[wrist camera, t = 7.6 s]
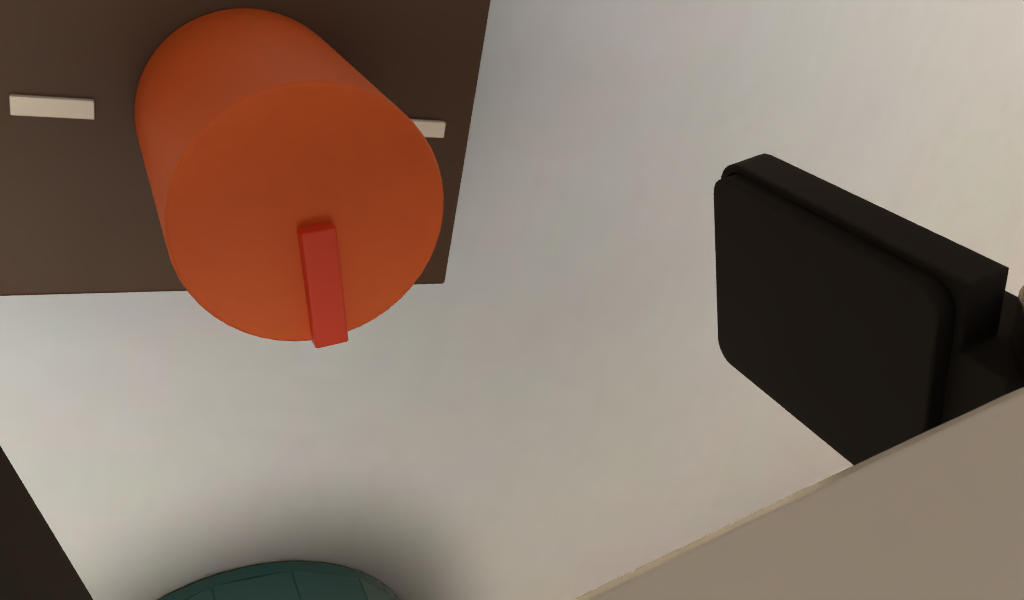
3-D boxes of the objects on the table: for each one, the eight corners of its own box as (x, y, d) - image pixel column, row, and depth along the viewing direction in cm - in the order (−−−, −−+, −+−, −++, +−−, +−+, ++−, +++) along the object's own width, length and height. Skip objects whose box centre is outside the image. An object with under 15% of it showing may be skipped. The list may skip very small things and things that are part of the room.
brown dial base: (459, -82, 21) (505, -67, 19) (410, 254, 24) (445, 298, 22) (-44, -170, 16) (-57, -164, 14) (-12, 258, 20) (-18, 314, 18)
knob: (111, 18, 16) (136, 107, 12) (344, -2, 18) (446, 69, 13) (158, 234, 18) (195, 379, 14) (362, 198, 20) (455, 319, 16)
